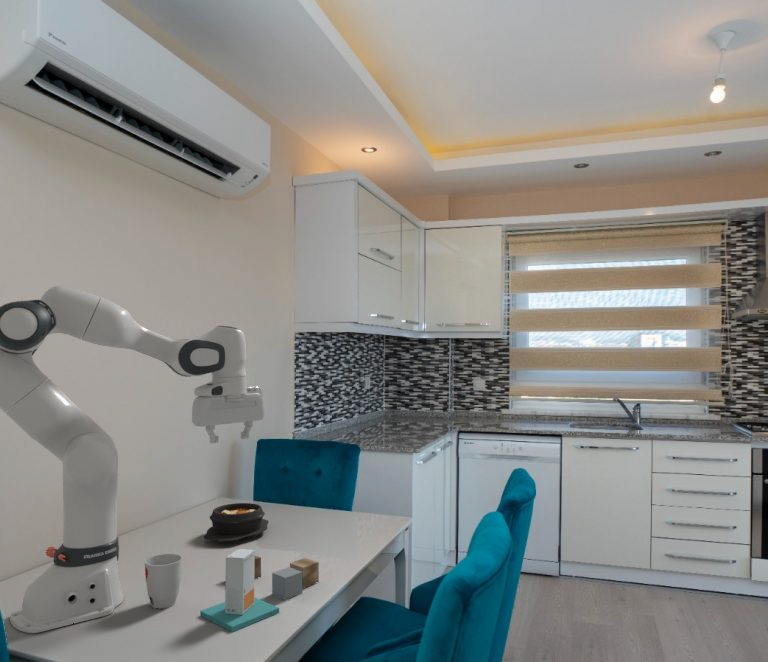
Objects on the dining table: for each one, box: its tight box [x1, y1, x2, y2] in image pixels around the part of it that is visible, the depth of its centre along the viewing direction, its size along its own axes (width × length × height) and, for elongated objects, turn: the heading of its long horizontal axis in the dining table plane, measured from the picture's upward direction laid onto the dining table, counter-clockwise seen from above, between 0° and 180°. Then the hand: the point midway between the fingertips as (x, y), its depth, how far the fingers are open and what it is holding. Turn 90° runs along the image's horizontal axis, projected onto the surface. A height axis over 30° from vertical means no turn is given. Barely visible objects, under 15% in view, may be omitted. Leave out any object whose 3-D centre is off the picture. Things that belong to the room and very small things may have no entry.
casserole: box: [203, 502, 270, 543], centre depth 189 cm, size 25×19×8 cm
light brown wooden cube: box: [289, 557, 320, 589], centre depth 148 cm, size 5×5×5 cm
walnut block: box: [254, 555, 262, 580], centre depth 152 cm, size 5×5×5 cm
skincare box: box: [224, 548, 256, 615], centre depth 131 cm, size 6×4×12 cm
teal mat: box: [199, 596, 280, 633], centre depth 130 cm, size 12×12×1 cm
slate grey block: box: [271, 566, 303, 600], centre depth 141 cm, size 5×5×5 cm
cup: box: [144, 553, 184, 610], centre depth 136 cm, size 8×8×10 cm
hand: (229, 440), depth 157 cm, fingers open, 8 cm apart
